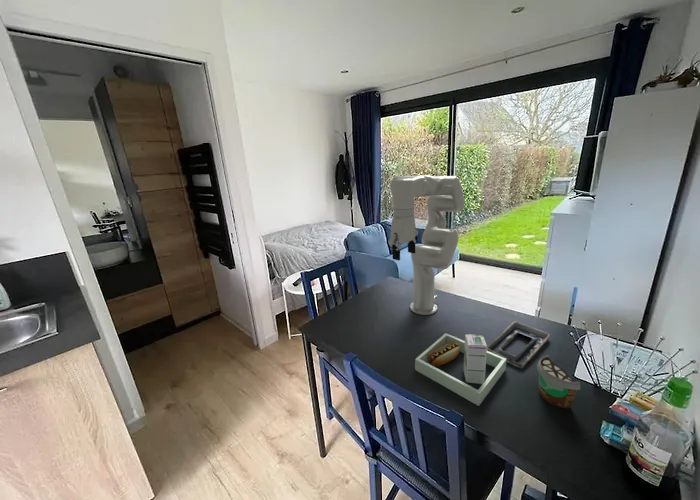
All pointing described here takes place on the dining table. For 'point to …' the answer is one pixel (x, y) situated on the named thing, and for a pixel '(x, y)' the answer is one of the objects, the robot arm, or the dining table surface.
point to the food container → (556, 384)
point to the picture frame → (513, 357)
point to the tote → (454, 383)
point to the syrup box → (475, 358)
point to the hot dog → (444, 354)
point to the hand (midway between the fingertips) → (404, 256)
